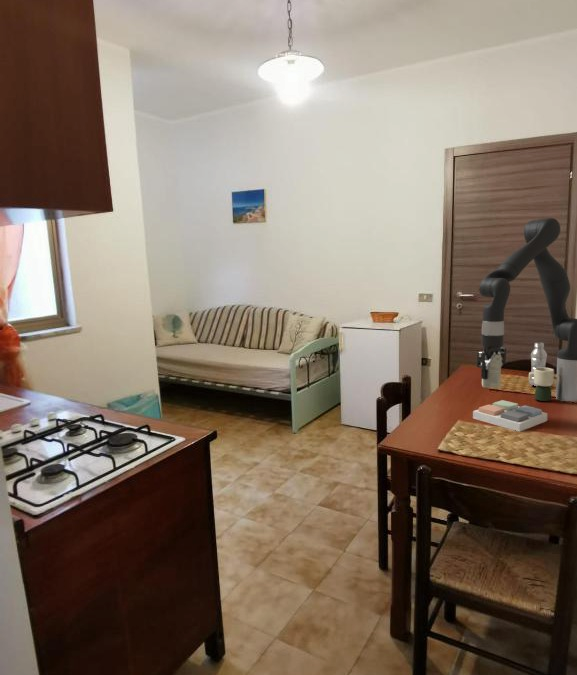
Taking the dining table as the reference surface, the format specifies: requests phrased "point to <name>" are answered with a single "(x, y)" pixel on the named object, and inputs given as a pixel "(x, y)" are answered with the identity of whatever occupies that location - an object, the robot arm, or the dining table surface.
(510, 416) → the key charcoal
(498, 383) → the skincare box
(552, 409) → the dining table surface
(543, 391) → the character mug
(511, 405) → the key sage
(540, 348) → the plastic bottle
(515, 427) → the white flat square tray
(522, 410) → the key slate
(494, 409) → the key terracotta
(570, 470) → the dining table surface
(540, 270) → the robot arm
